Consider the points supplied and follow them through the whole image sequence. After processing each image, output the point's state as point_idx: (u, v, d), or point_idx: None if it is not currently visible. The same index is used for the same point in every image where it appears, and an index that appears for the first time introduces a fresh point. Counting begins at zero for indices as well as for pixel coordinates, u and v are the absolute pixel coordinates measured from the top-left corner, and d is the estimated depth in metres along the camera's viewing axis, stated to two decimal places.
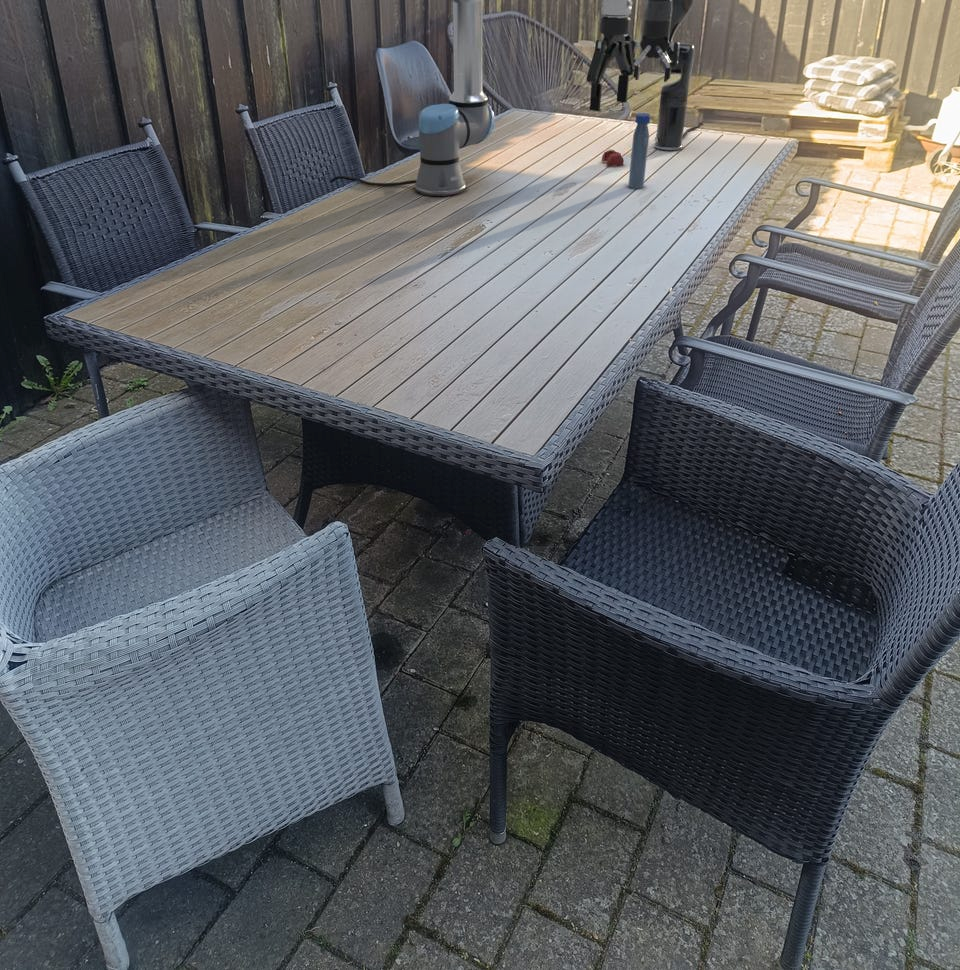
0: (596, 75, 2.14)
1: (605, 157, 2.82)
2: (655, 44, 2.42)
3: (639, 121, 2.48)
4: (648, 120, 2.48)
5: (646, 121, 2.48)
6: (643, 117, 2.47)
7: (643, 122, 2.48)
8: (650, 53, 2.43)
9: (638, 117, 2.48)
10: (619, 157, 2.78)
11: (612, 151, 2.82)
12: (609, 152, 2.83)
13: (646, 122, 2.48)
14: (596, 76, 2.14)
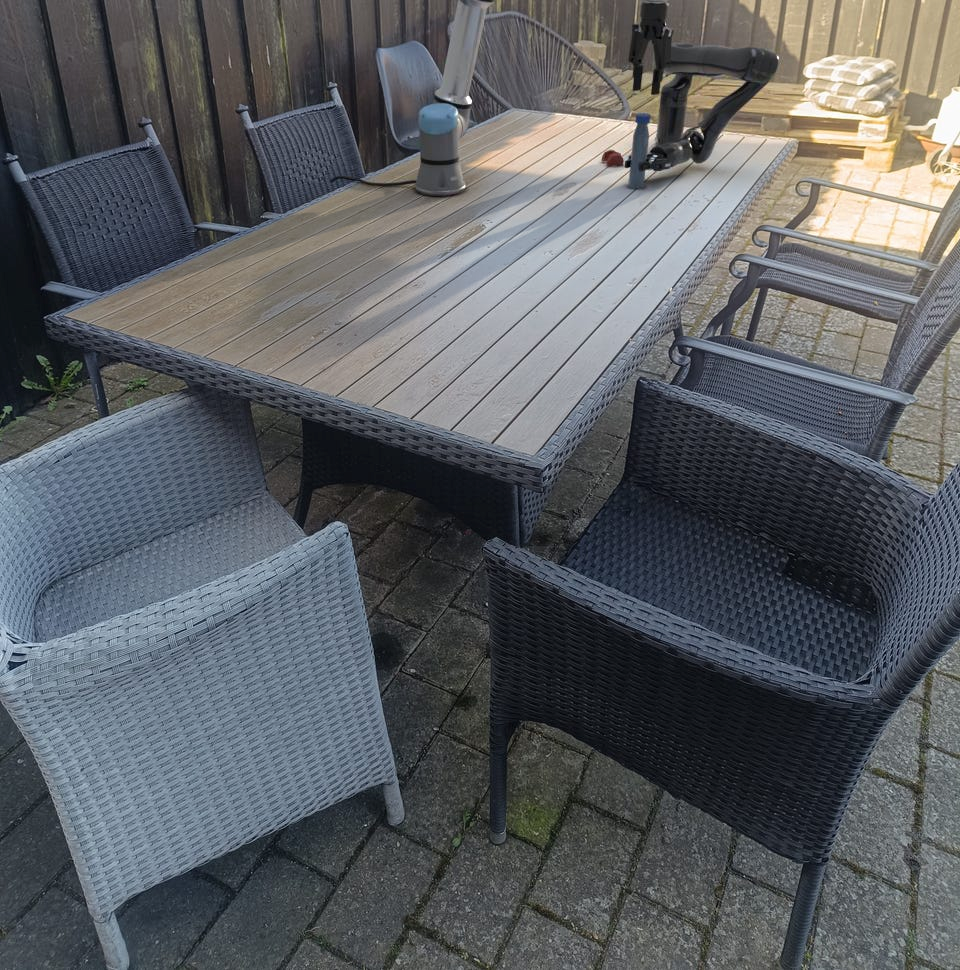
0: (630, 56, 2.44)
1: (605, 157, 2.82)
2: None
3: (639, 121, 2.48)
4: (648, 120, 2.48)
5: (646, 121, 2.48)
6: (643, 117, 2.47)
7: (643, 122, 2.48)
8: None
9: (638, 117, 2.48)
10: (619, 157, 2.78)
11: (612, 151, 2.82)
12: (609, 152, 2.83)
13: (646, 122, 2.48)
14: (630, 56, 2.44)
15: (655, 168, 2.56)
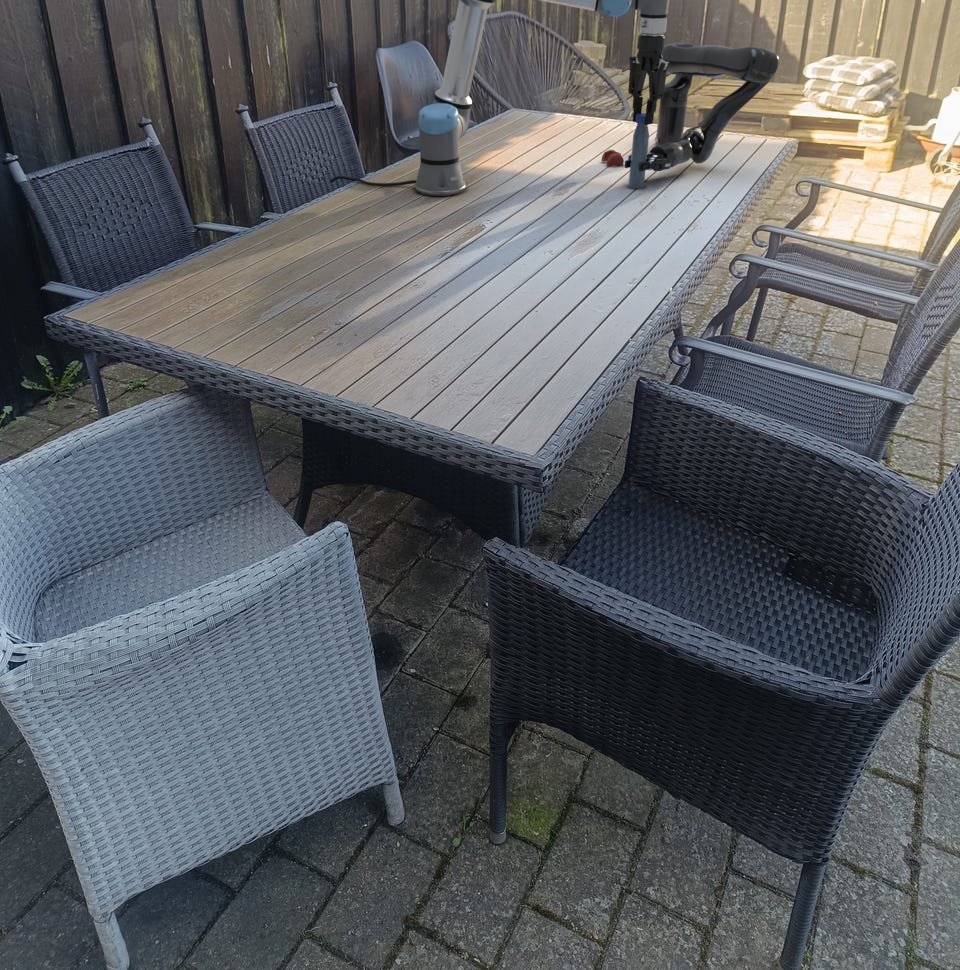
0: (629, 87, 2.48)
1: (605, 157, 2.82)
2: None
3: (639, 121, 2.48)
4: None
5: None
6: (643, 117, 2.47)
7: (643, 122, 2.48)
8: None
9: (638, 117, 2.48)
10: (619, 157, 2.78)
11: (612, 151, 2.82)
12: (609, 152, 2.83)
13: None
14: (629, 88, 2.48)
15: (655, 168, 2.56)
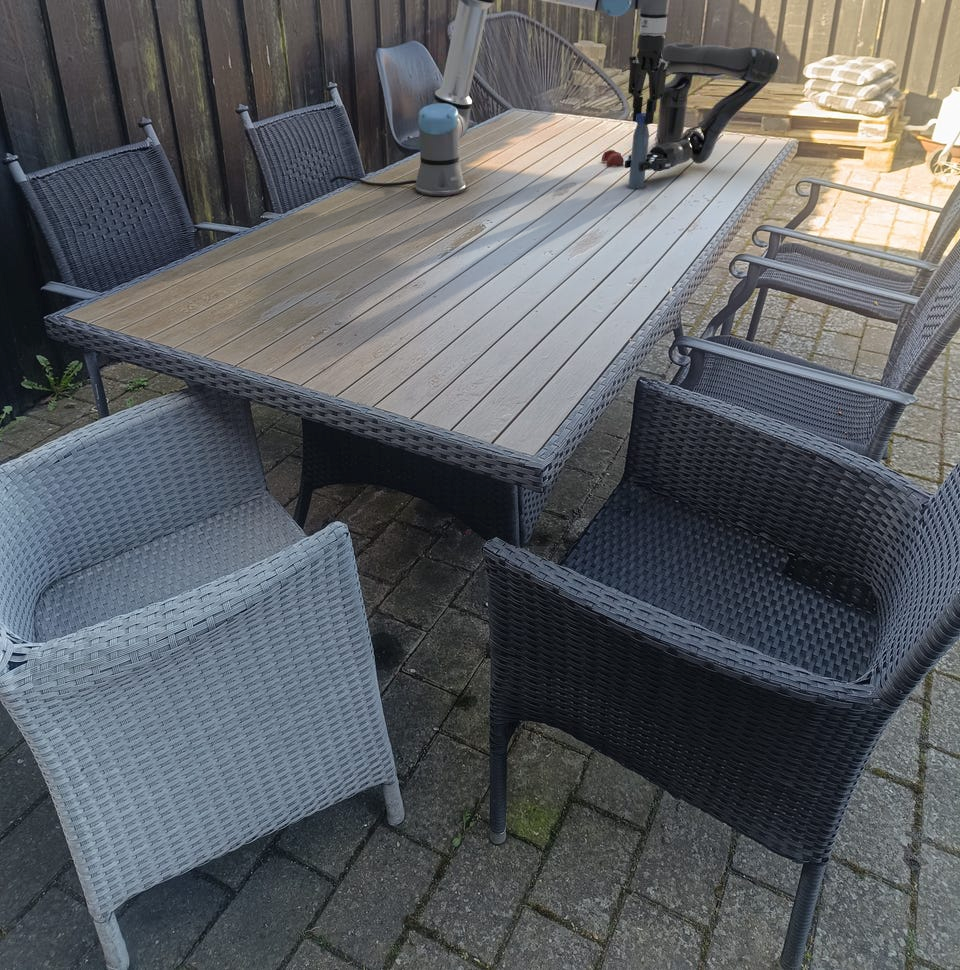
0: (629, 87, 2.48)
1: (605, 157, 2.82)
2: None
3: None
4: None
5: None
6: None
7: None
8: None
9: None
10: (619, 157, 2.78)
11: (612, 151, 2.82)
12: (609, 152, 2.83)
13: None
14: (629, 88, 2.48)
15: (655, 168, 2.56)
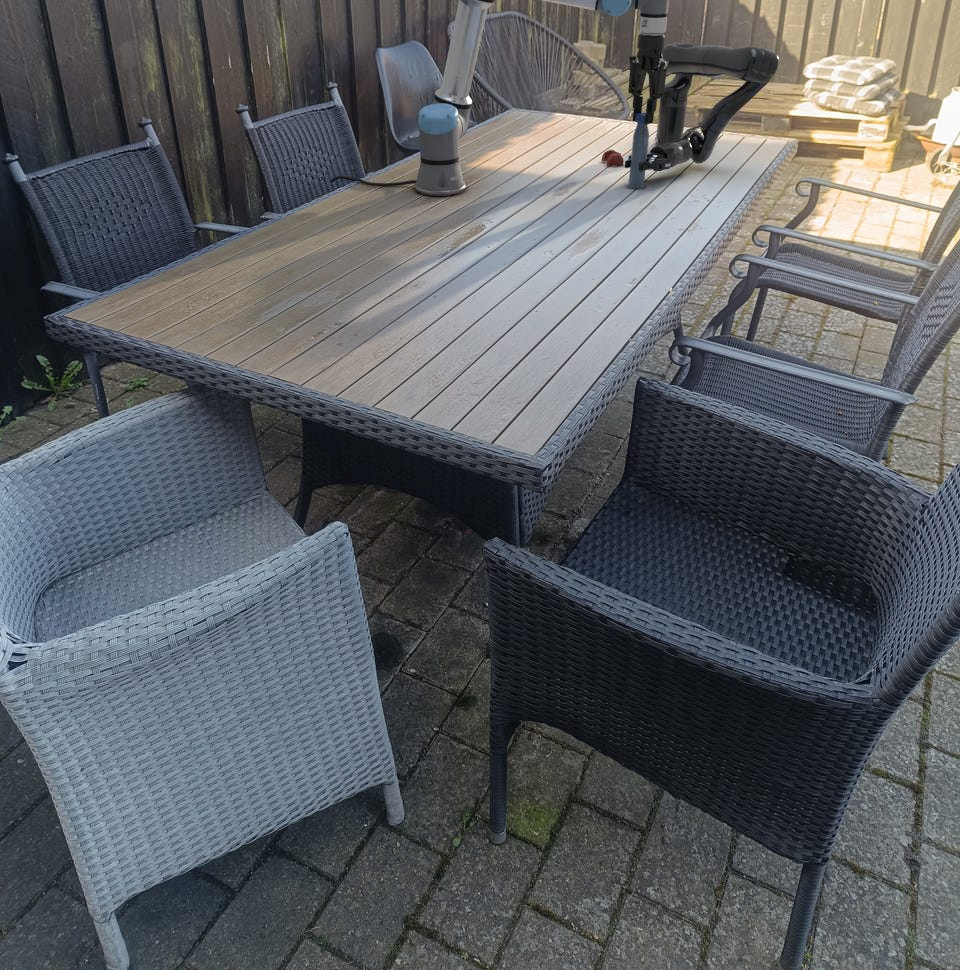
0: (629, 87, 2.48)
1: (605, 157, 2.82)
2: None
3: None
4: None
5: None
6: None
7: None
8: None
9: None
10: (619, 157, 2.78)
11: (612, 151, 2.82)
12: (609, 152, 2.83)
13: None
14: (630, 88, 2.48)
15: (655, 168, 2.56)
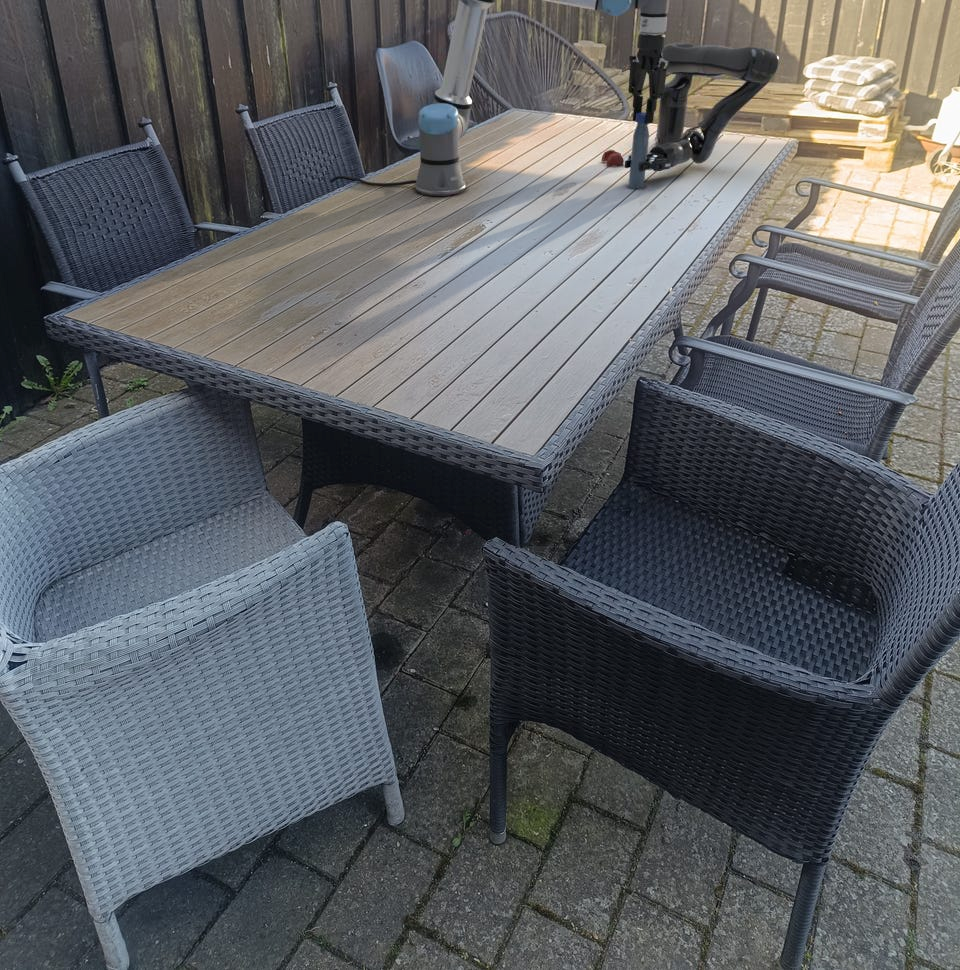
0: (629, 86, 2.48)
1: (605, 157, 2.82)
2: None
3: None
4: (638, 119, 2.48)
5: (636, 119, 2.49)
6: (636, 114, 2.49)
7: None
8: None
9: None
10: (619, 157, 2.78)
11: (612, 151, 2.82)
12: (609, 152, 2.83)
13: (636, 120, 2.49)
14: (630, 87, 2.48)
15: (655, 168, 2.56)
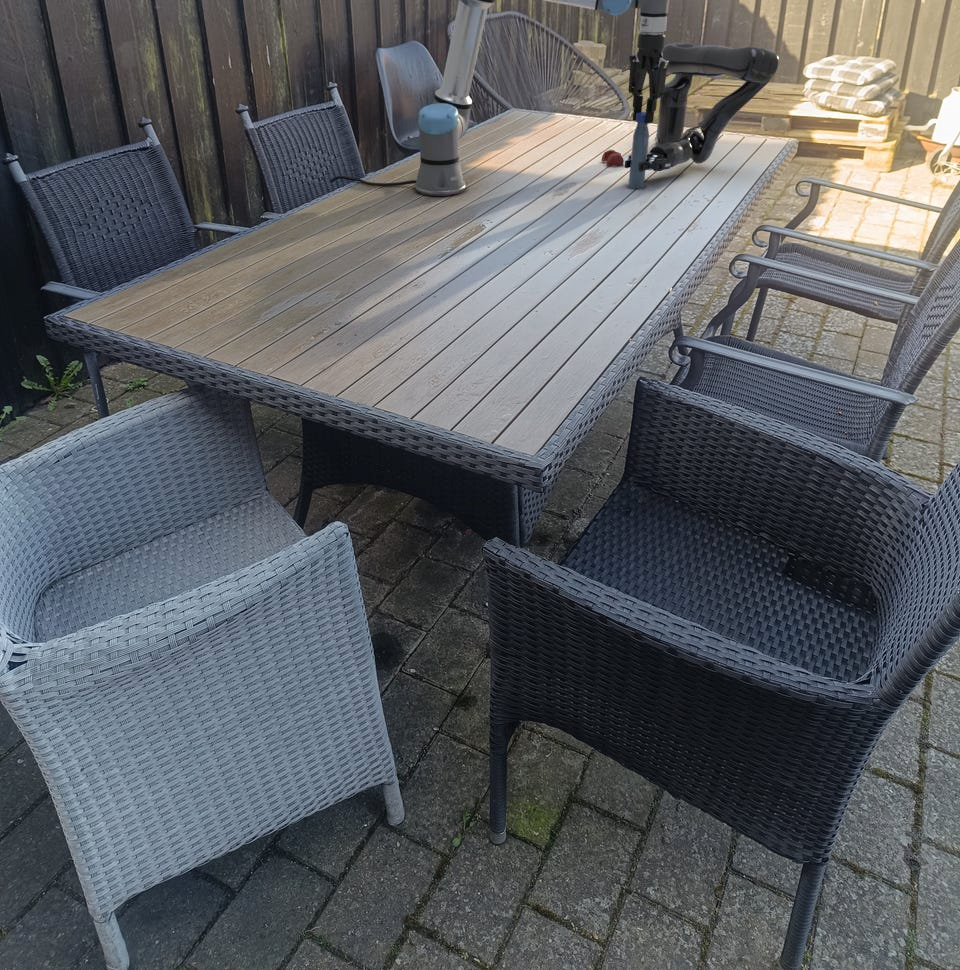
0: (629, 86, 2.48)
1: (605, 157, 2.82)
2: None
3: (639, 120, 2.48)
4: None
5: None
6: (643, 116, 2.47)
7: (643, 121, 2.48)
8: None
9: (638, 116, 2.48)
10: (619, 157, 2.78)
11: (612, 151, 2.82)
12: (609, 152, 2.83)
13: None
14: (630, 87, 2.48)
15: (655, 168, 2.56)
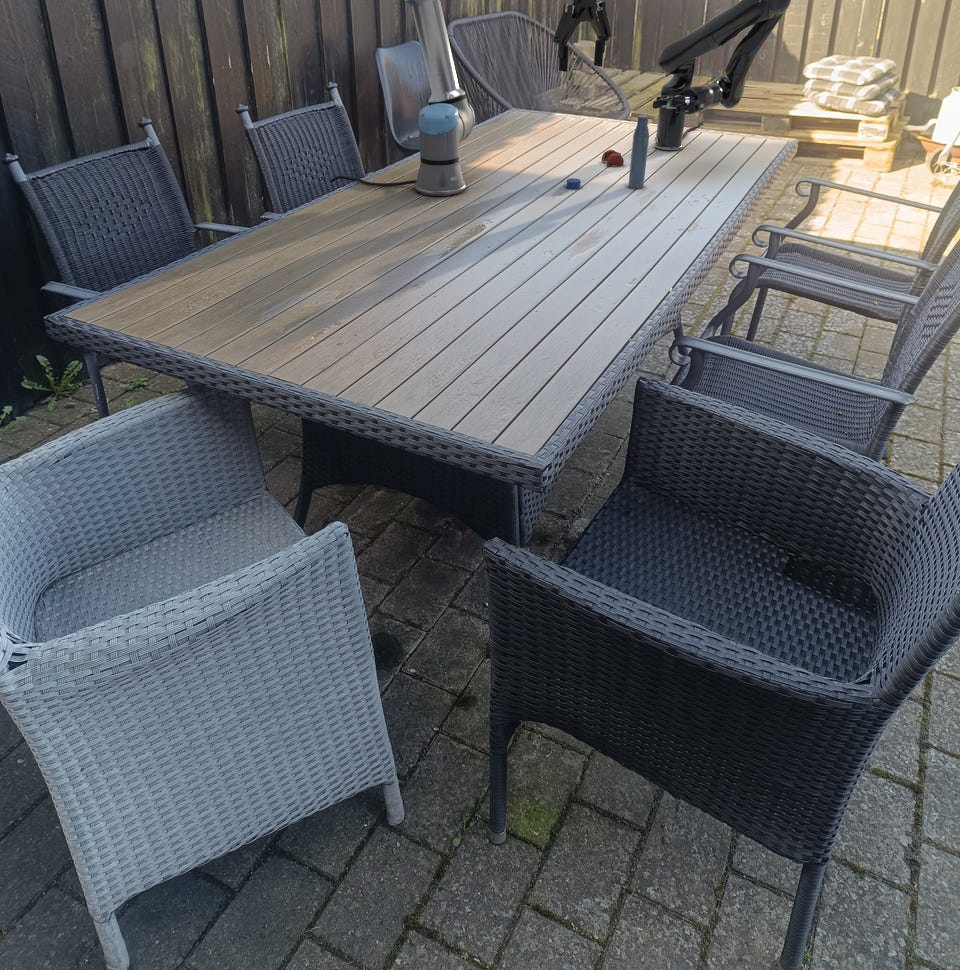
0: (561, 37, 2.31)
1: (605, 157, 2.82)
2: None
3: None
4: None
5: None
6: None
7: None
8: None
9: None
10: (619, 157, 2.78)
11: (612, 151, 2.82)
12: (609, 152, 2.83)
13: None
14: (561, 38, 2.31)
15: (693, 109, 2.53)
